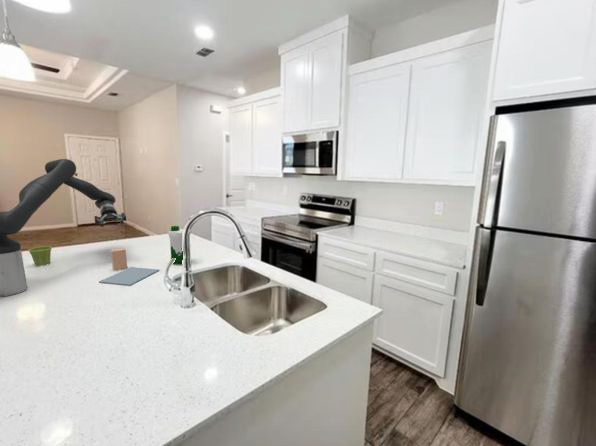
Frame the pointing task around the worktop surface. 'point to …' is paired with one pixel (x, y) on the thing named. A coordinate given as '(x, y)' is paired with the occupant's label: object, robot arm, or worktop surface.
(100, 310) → the worktop surface
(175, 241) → the milk carton
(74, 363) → the worktop surface
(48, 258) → the plant pot
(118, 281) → the mat
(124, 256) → the terracotta block
